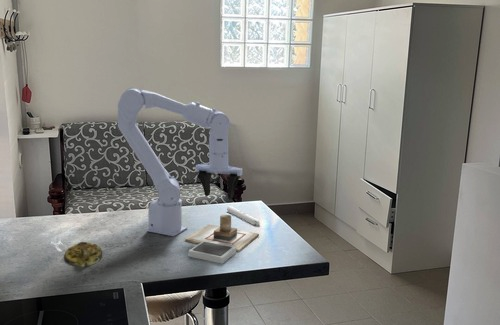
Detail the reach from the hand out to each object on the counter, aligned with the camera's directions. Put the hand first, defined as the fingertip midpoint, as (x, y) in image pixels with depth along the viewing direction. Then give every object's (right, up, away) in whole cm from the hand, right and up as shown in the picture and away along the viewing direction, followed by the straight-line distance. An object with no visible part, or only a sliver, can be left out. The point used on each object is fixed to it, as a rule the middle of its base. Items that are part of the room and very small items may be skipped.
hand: (218, 196), depth 148 cm
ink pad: (-1, -14, -17) cm, 22 cm away
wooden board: (+1, -12, -5) cm, 13 cm away
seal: (-34, -15, -20) cm, 42 cm away
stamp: (+2, -11, -6) cm, 13 cm away
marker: (+7, -9, +13) cm, 17 cm away
